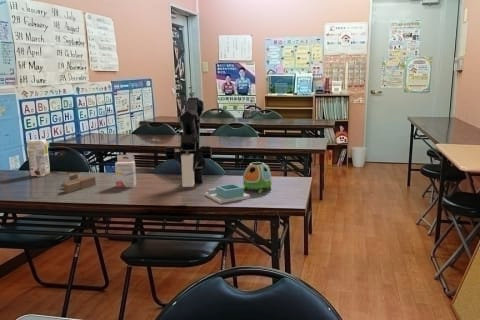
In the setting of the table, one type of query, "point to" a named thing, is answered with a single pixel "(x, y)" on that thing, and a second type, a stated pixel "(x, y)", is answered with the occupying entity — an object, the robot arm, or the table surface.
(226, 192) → the cleat stand
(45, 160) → the juice carton
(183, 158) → the block
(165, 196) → the table surface
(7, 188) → the table surface
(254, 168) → the turtle holder
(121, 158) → the ink cartridge box
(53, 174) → the table surface
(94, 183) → the wooden block set
